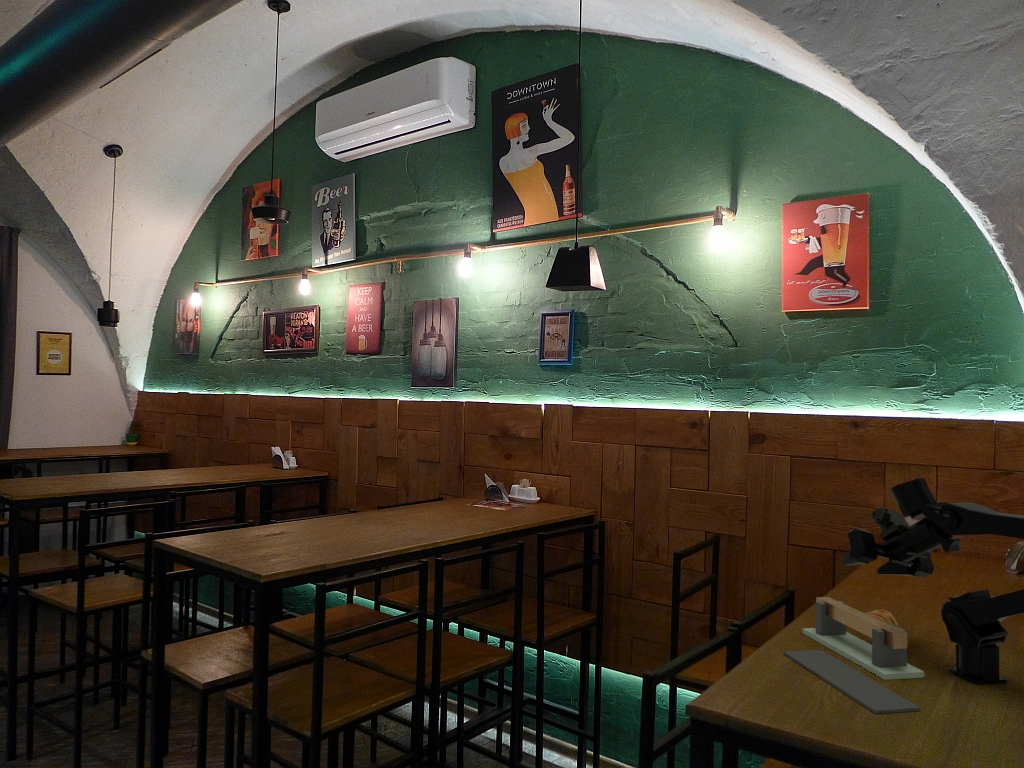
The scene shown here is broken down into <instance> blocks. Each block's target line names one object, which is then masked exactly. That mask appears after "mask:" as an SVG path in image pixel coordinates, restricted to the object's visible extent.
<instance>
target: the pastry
mask: <svg viewBox="0 0 1024 768" xmlns="http://www.w3.org/2000/svg"><path fill="white" fill-rule="evenodd" d="M864 613H865V614H867V615H869V616H872V617H874V618H876V619H878V620H880V621H883V622H885V623H887V624H889V625H892V626H894V627H899V624H898V622H897V621H896V618H895V617H894V615H893V614H892V613H891V612H890V611H888V610H885V609H873V610H872V611H869V612H864Z"/></svg>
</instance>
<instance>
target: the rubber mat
mask: <svg viewBox="0 0 1024 768" xmlns="http://www.w3.org/2000/svg"><path fill="white" fill-rule="evenodd" d="M783 656H786V657H787V658H789V659H790V660H791V661H793V662H795V663H796V662H797V663H796V664H798V665H799V664H800V665H799V666H801V665H802V666H803V668H804V667H805V668H806V669H805V668H804V669H805V670H807V669H808V670H807V671H808V672H810V671H811V672H810V673H812V674H813V673H814V674H813V675H815V676H816V675H817V676H816V677H818V678H819V677H820V678H819V679H821V680H822V679H823V680H822V681H823V682H825V681H826V683H827V684H828V683H829V685H830V686H831V687H833V688H835V689H836V690H837V691H840V693H842V694H844V695H845V696H847V697H849V698H850V699H852V700H853V701H855V702H856V703H858V704H859V705H861V706H862V707H864V708H865V709H867V710H868V711H870V712H872V713H873V714H876V715H877V714H879V715H880V714H891V713H892V714H893V713H895V714H896V713H905V712H907V713H909V712H920V711H921V707H920V706H918V705H917V704H915V703H913V702H911V701H910V700H908V699H906V698H905V697H902V696H901V695H900V694H897V693H895V692H894V691H892V690H890V689H889V688H887V687H886V686H883V685H882V684H881V683H878V682H877V681H875V680H873V679H872V678H870V677H869V676H867V675H865V674H863V673H862V672H860V671H858V670H857V669H854V668H853V667H851V666H850V665H848V664H846V663H844V662H842V661H841V660H839V659H838V658H836V657H834V656H833V655H831V654H829V653H827V652H825V651H824V650H822V649H816V650H815V649H814V650H813V649H811V650H793V651H783ZM802 666H801V667H802Z"/></svg>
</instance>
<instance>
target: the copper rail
mask: <svg viewBox="0 0 1024 768" xmlns="http://www.w3.org/2000/svg"><path fill="white" fill-rule="evenodd" d="M818 601H820V602H822V603H825V604H826V616H828V617H830V618H832V619H834V620H836V621H838V622H840V623H842V624H844V625H846V627H849V628H851V629H852V630H855V631H857V632H858V633H860V634H863V635H864V636H867V637H869V638H871V639H872V628H878V629H880V630H882V631H884V644H885V645H887V646H889V647H891V648H893V649H905V648H907V649H908V647H909V646H908V640H909V639H908V638H909V637H908V631H907V632H905V631H903V630H900V629H898V628H896V627H894V626H892V625H889V624H887V623H885V622H883V621H880V620H878V619H876V618H874V617H872V616H869V615H867V614H865V613H866V612H863V611H860V610H858V609H857V608H854V607H852V606H849V605H848V604H846V605H845V604H843V603H841V602H839V601H840V600H836V599H834V598H832V597H829V596H820V597H819V596H817V597H816V600H815V603H816V602H818Z"/></svg>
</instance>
